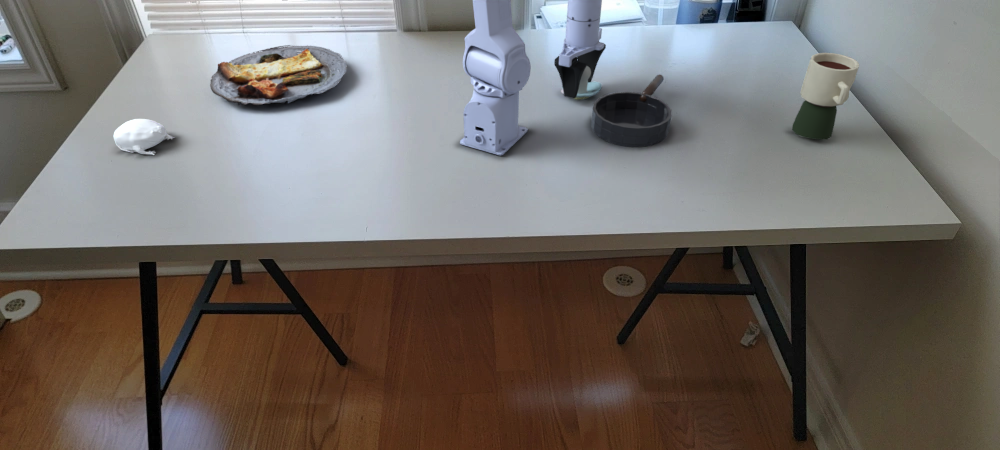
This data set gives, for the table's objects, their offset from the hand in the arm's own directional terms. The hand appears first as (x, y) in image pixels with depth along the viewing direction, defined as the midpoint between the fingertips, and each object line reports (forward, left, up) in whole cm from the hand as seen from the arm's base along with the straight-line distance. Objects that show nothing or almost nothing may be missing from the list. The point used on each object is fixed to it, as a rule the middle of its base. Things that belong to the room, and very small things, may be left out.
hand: (577, 89), depth 120 cm
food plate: (-22, +52, -2) cm, 56 cm away
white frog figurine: (-50, +55, -2) cm, 74 cm away
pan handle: (+4, -12, +1) cm, 13 cm away
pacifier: (+1, 0, -2) cm, 2 cm away
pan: (-7, -12, -2) cm, 14 cm away
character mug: (+6, -40, -2) cm, 40 cm away
